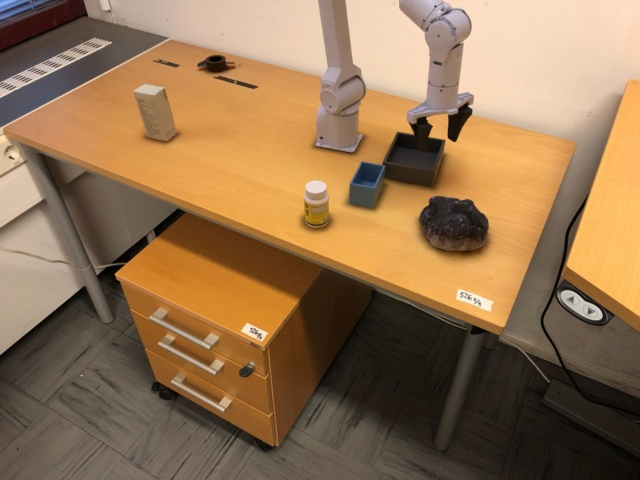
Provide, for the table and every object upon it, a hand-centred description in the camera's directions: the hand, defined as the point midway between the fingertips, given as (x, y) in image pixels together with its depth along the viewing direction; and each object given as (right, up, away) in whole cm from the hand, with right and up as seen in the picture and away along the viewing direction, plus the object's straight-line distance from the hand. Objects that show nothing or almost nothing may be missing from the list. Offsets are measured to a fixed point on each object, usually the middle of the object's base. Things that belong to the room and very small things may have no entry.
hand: (436, 145), depth 104 cm
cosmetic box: (-62, +6, +22) cm, 67 cm away
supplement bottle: (-24, -15, -2) cm, 29 cm away
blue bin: (-14, -9, +4) cm, 17 cm away
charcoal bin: (-3, -3, +11) cm, 11 cm away
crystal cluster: (+2, -18, -6) cm, 19 cm away
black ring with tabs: (-54, +32, +50) cm, 80 cm away
